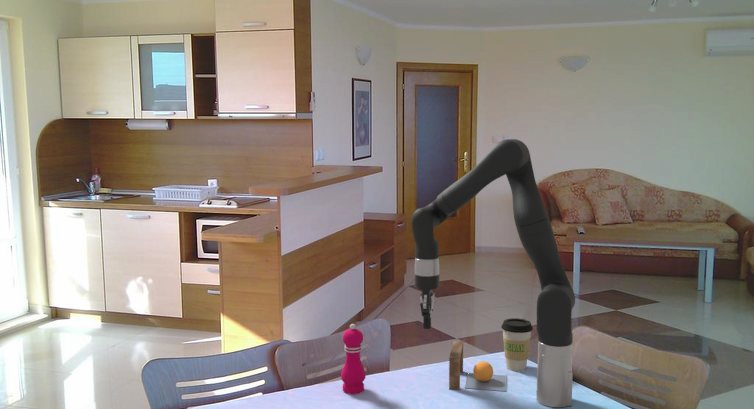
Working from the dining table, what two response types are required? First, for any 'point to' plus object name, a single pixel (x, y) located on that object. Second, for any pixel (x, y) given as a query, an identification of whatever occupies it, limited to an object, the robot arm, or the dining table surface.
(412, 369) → the dining table surface
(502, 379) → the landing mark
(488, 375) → the ball
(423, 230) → the robot arm
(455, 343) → the bridge
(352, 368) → the pepper mill
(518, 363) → the coffee cup
